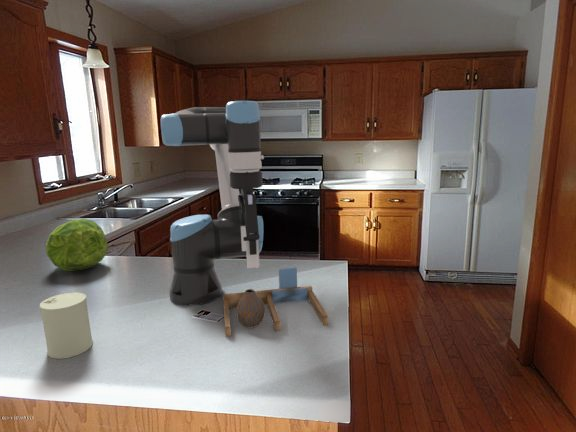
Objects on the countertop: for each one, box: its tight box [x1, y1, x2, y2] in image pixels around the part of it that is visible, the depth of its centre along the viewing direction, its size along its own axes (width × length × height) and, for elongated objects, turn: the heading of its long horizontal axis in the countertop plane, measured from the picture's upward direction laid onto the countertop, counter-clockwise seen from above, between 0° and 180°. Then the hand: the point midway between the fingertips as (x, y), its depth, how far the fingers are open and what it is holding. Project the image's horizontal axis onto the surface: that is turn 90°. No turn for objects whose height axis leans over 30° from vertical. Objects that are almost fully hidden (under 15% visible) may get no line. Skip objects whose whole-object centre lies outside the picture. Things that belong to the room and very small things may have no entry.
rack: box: [222, 285, 329, 337], centre depth 104 cm, size 25×17×4 cm
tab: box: [278, 266, 298, 289], centre depth 113 cm, size 5×1×6 cm, turn 100°
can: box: [39, 291, 94, 360], centre depth 90 cm, size 9×9×12 cm
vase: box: [236, 288, 266, 328], centre depth 99 cm, size 7×7×9 cm
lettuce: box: [45, 218, 109, 272], centre depth 144 cm, size 19×23×18 cm
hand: (250, 258), depth 97 cm, fingers open, 13 cm apart
